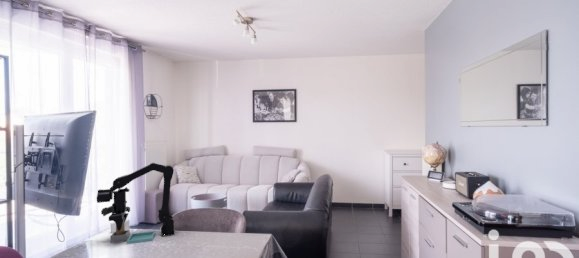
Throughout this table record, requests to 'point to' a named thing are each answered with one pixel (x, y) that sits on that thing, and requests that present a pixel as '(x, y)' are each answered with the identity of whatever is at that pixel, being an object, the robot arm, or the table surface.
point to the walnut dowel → (120, 230)
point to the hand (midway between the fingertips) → (120, 229)
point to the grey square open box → (119, 237)
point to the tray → (141, 237)
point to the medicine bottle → (113, 226)
